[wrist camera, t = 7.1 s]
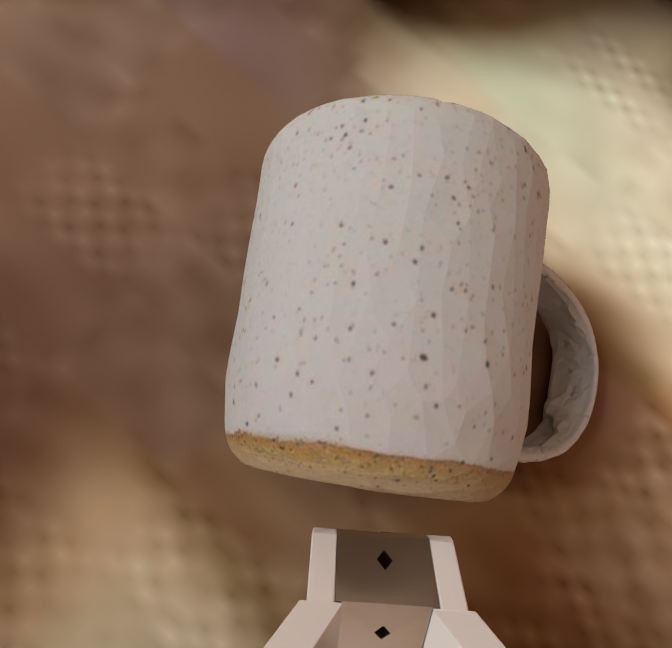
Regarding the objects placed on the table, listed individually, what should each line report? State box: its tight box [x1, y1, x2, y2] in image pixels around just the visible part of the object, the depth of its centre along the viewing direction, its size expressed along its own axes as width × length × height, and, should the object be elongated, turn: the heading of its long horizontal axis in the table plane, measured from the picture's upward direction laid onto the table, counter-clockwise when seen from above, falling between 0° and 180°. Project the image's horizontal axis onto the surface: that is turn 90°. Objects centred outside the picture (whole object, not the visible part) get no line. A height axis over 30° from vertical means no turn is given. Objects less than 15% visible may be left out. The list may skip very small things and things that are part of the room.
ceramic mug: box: [225, 95, 599, 502], centre depth 13 cm, size 11×8×8 cm
